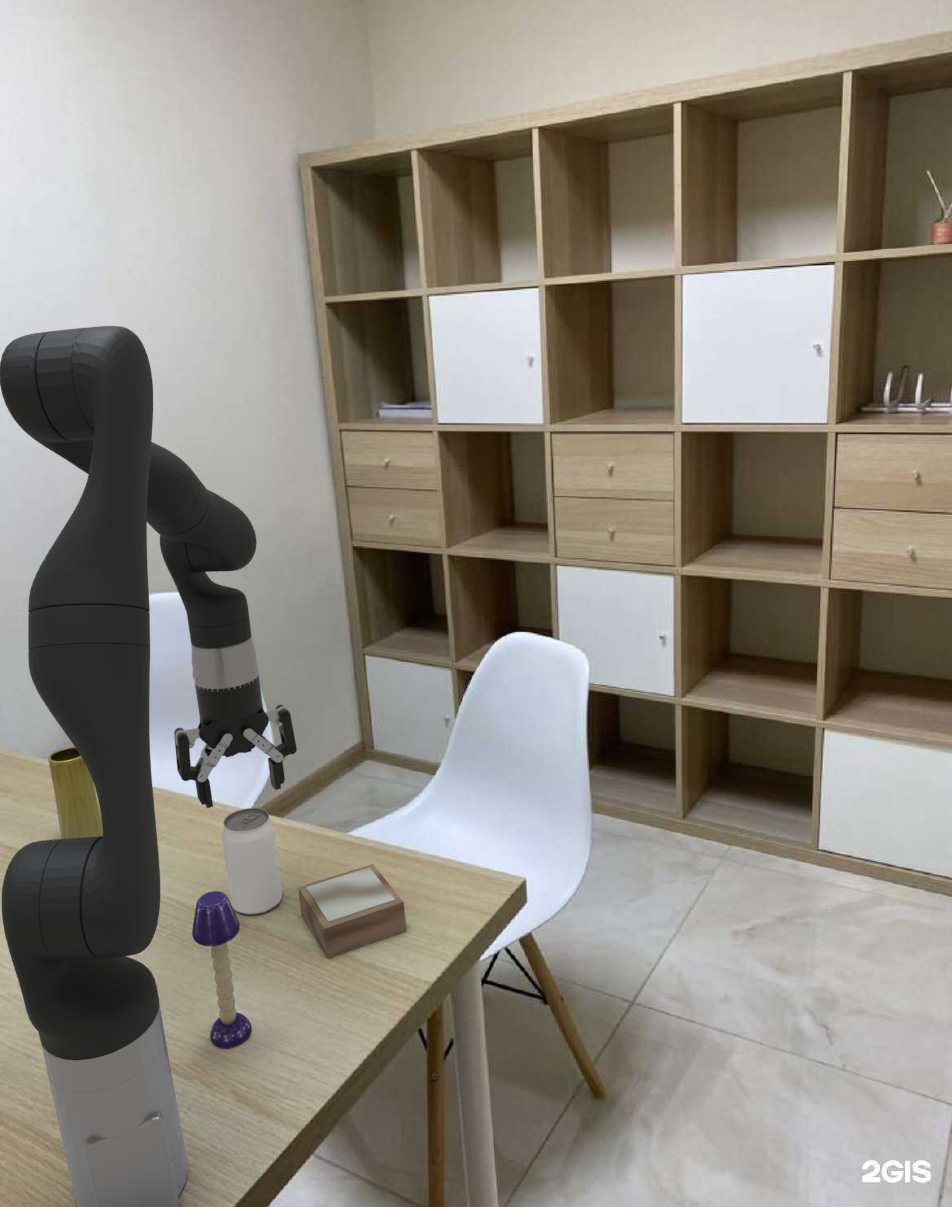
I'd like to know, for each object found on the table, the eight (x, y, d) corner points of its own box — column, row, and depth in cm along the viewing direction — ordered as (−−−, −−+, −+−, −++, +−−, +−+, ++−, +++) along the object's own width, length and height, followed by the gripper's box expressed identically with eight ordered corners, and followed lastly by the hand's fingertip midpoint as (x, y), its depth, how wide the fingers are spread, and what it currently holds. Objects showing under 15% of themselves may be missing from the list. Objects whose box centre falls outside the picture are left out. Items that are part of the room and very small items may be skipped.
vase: (61, 838, 143) (44, 750, 139) (104, 827, 145) (89, 741, 141) (63, 857, 138) (45, 766, 134) (108, 846, 140) (92, 756, 136)
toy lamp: (264, 1030, 101) (245, 892, 97) (230, 1058, 98) (208, 916, 93) (232, 1014, 104) (212, 879, 99) (198, 1041, 100) (176, 902, 96)
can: (221, 909, 123) (208, 825, 120) (254, 883, 129) (243, 802, 125) (260, 921, 120) (249, 835, 117) (293, 894, 126) (282, 811, 122)
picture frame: (406, 930, 117) (403, 900, 116) (327, 958, 112) (324, 927, 111) (375, 890, 125) (372, 862, 124) (301, 915, 121) (298, 885, 120)
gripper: (171, 697, 109) (191, 824, 114) (293, 671, 115) (307, 793, 120) (159, 678, 116) (179, 799, 120) (275, 654, 122) (289, 770, 126)
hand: (243, 795), depth 120 cm, fingers open, 8 cm apart
